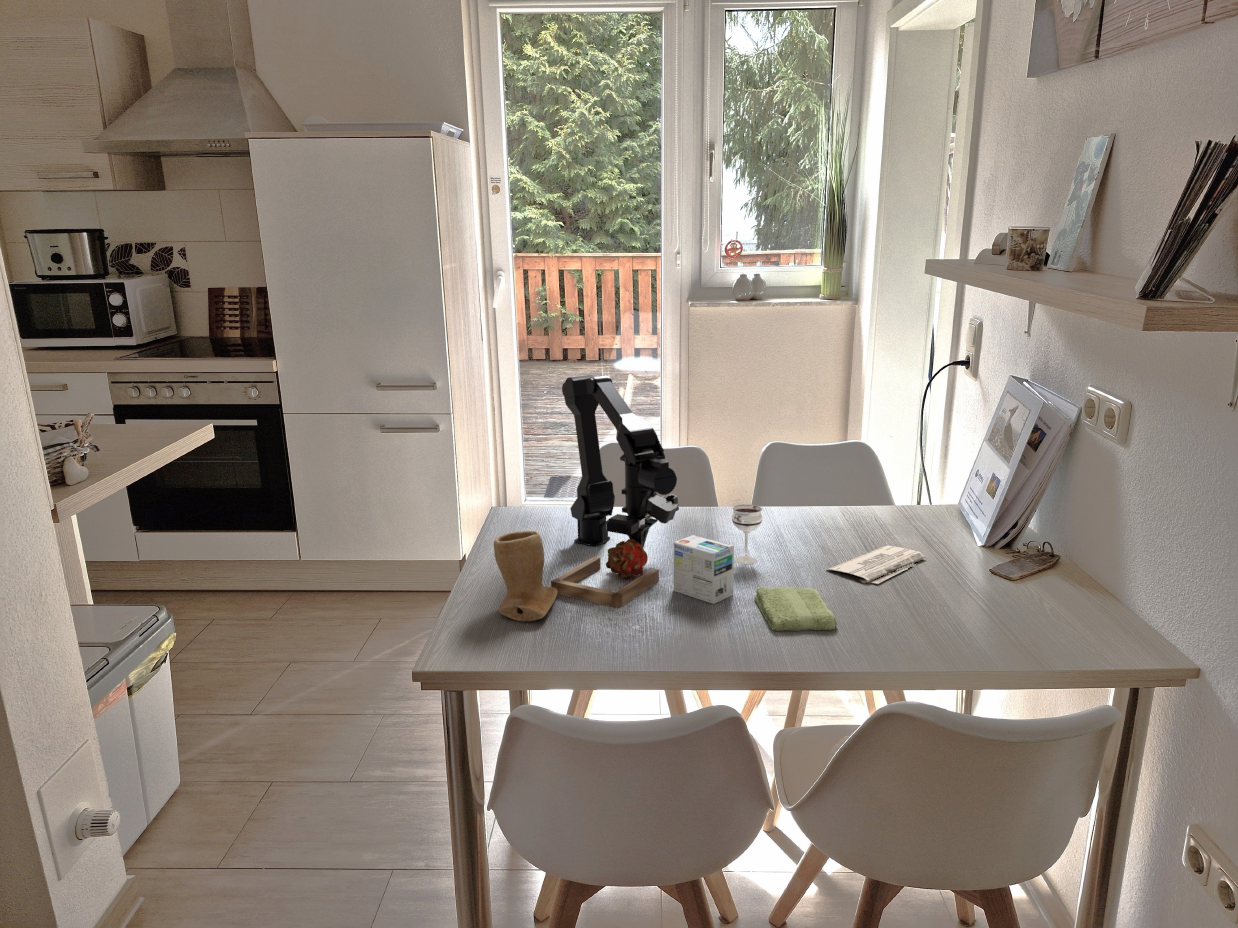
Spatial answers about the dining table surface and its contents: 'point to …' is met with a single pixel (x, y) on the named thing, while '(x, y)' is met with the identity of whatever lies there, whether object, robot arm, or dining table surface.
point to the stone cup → (523, 576)
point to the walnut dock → (570, 588)
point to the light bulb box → (703, 568)
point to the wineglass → (746, 525)
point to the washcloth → (794, 609)
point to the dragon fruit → (627, 559)
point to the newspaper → (879, 563)
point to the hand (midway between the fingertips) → (639, 552)
